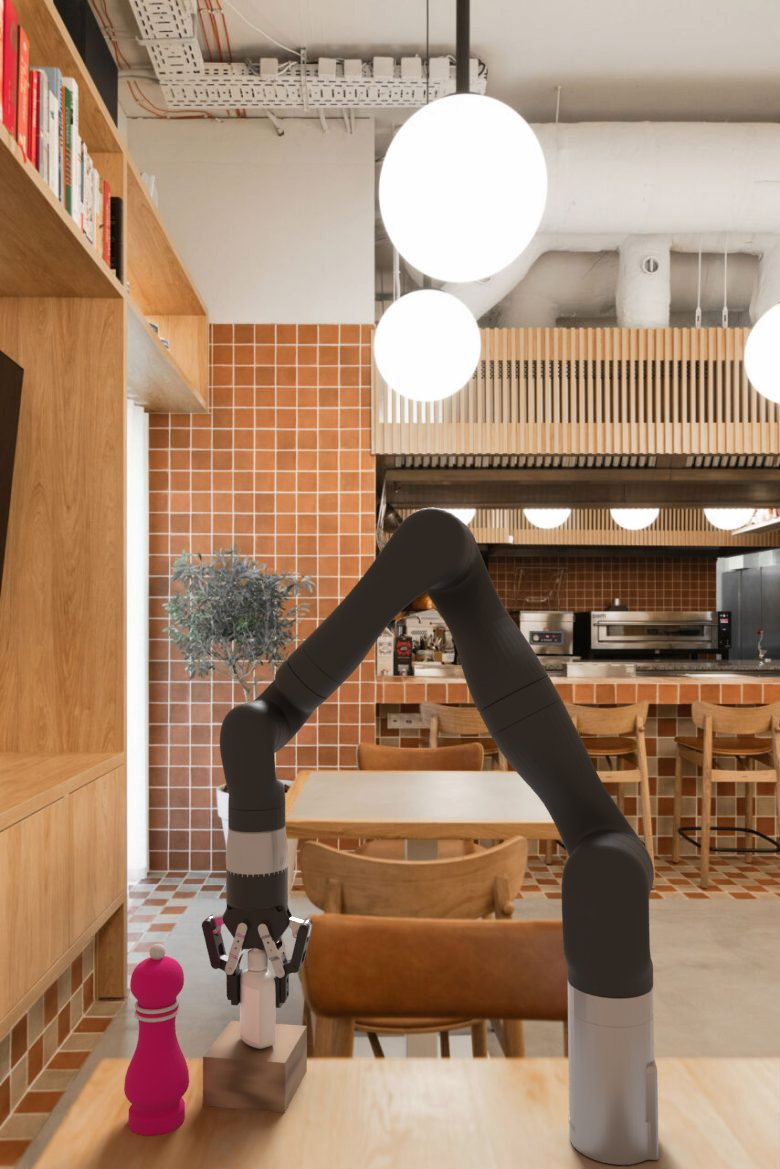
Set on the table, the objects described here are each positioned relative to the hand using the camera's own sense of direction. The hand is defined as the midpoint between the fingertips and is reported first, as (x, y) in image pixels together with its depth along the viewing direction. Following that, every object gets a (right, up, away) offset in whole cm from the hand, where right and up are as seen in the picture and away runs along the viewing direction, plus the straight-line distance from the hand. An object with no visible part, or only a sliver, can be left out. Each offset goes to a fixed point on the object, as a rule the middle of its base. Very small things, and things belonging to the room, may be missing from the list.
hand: (257, 1003), depth 114 cm
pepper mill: (-10, -10, -8) cm, 17 cm away
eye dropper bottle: (0, -4, -1) cm, 4 cm away
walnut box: (0, -10, 0) cm, 10 cm away
